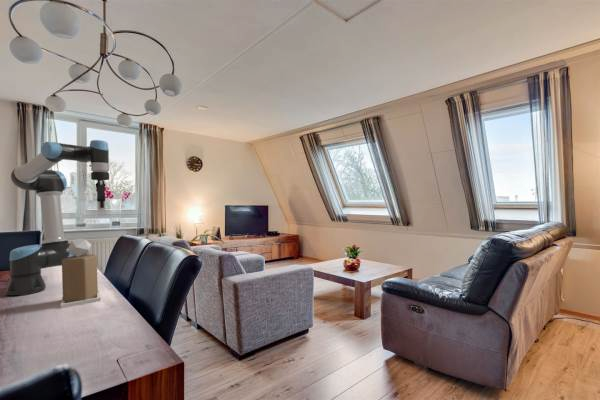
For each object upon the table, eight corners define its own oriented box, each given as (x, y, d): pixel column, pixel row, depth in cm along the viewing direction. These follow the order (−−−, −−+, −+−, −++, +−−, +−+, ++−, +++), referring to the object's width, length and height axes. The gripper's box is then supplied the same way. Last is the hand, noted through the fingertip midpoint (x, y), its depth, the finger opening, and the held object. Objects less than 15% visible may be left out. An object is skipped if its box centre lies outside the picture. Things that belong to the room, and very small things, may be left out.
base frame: (62, 300, 140) (62, 296, 140) (99, 293, 148) (99, 290, 148) (60, 308, 128) (60, 304, 128) (100, 300, 136) (100, 297, 136)
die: (93, 257, 139) (96, 239, 144) (76, 250, 132) (79, 231, 137) (79, 263, 140) (82, 245, 145) (61, 257, 133) (65, 238, 138)
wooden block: (76, 297, 142) (75, 254, 142) (98, 295, 143) (97, 253, 143) (61, 304, 132) (60, 258, 133) (85, 303, 133) (84, 257, 133)
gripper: (90, 174, 158) (91, 214, 158) (91, 169, 138) (93, 215, 138) (107, 174, 162) (108, 213, 162) (110, 169, 142) (112, 214, 142)
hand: (101, 214), depth 150 cm, fingers open, 13 cm apart
